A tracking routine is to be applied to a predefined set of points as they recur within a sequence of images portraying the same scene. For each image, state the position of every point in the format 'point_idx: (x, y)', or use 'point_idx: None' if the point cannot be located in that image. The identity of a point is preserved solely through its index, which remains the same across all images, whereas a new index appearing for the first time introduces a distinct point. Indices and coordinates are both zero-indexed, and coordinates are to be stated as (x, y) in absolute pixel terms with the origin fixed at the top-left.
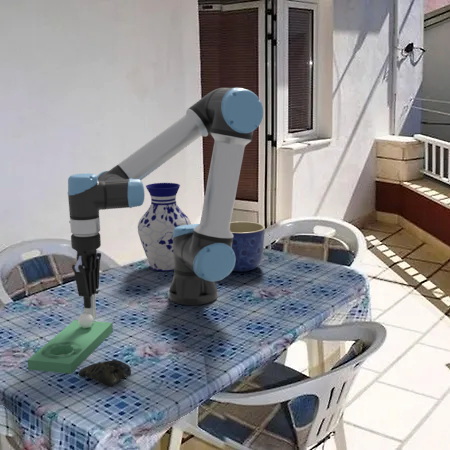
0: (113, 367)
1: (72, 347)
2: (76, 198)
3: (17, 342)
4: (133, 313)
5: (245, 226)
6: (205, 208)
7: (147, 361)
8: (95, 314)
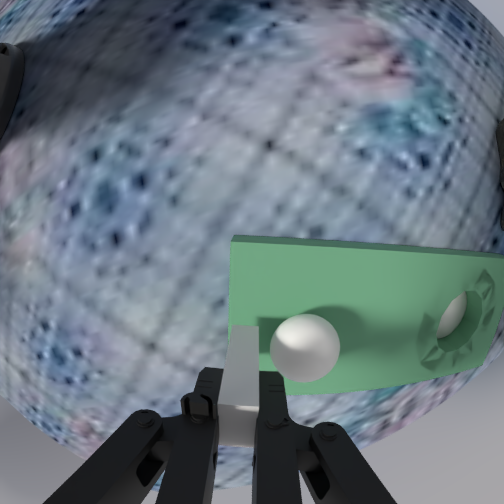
0: None
1: (449, 302)
2: None
3: None
4: (67, 218)
5: None
6: None
7: (431, 68)
8: (238, 332)
